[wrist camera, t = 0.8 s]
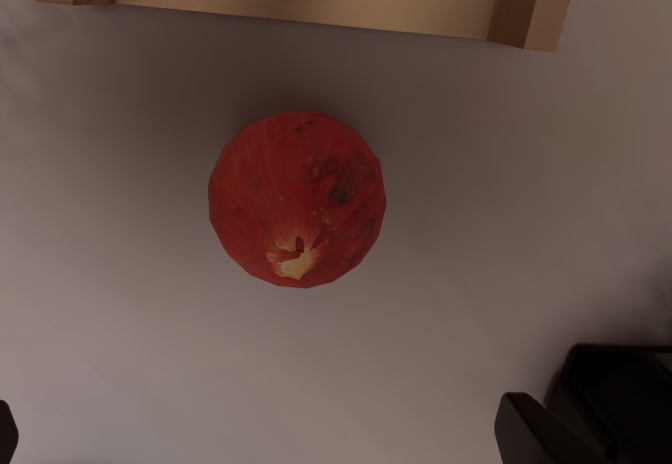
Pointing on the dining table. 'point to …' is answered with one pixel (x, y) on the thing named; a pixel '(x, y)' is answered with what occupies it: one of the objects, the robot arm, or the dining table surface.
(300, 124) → the pomegranate
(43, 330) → the dining table surface
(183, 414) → the dining table surface
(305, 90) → the dining table surface
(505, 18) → the shallow wooden tray
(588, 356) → the robot arm
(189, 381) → the dining table surface
